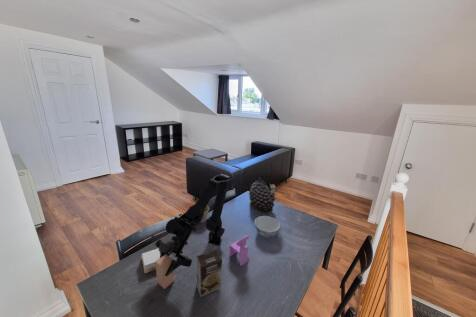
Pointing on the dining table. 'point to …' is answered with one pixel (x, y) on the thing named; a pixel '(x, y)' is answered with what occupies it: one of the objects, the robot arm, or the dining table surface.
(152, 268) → the bottom slab
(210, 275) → the coffee box
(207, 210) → the flower pot
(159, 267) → the pillar
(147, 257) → the top slab
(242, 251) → the toy chair
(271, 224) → the chinaware
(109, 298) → the dining table surface
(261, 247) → the dining table surface
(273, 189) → the dark pinecone ornament
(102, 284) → the dining table surface
